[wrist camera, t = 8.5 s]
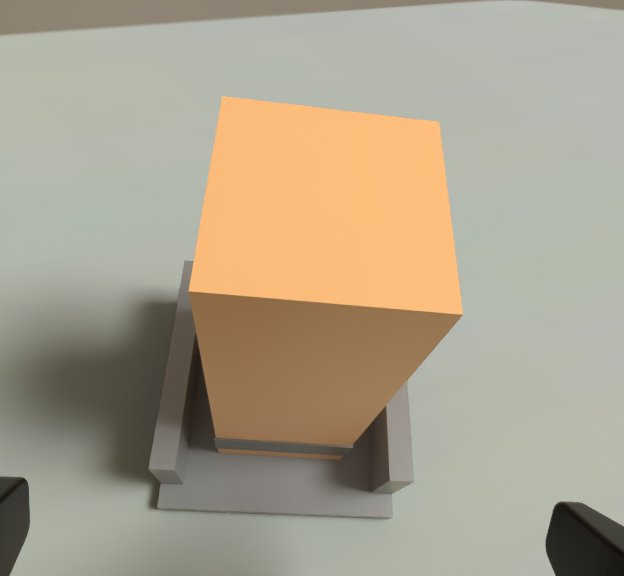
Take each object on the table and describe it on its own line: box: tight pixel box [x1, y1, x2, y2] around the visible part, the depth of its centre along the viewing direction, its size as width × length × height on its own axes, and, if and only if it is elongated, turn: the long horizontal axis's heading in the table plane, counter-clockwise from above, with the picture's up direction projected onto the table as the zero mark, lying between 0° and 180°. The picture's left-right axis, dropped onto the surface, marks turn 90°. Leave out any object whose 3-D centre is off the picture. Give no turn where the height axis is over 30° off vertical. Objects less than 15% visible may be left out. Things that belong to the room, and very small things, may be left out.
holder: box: [148, 261, 414, 519], centre depth 17 cm, size 7×7×3 cm
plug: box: [189, 96, 463, 460], centre depth 13 cm, size 4×4×11 cm
